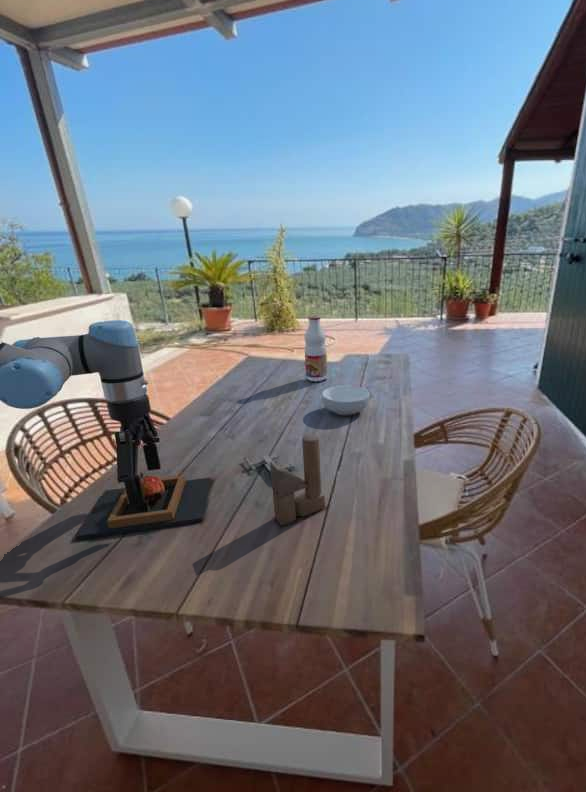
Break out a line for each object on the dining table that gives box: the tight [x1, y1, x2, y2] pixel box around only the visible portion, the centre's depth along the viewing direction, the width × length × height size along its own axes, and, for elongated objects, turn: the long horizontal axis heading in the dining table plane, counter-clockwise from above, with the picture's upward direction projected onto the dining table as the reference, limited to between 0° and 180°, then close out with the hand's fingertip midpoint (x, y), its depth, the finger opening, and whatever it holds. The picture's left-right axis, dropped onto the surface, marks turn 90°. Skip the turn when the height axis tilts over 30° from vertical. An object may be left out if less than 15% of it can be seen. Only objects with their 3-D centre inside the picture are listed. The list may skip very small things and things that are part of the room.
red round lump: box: [126, 472, 164, 512], centre depth 87 cm, size 7×7×10 cm
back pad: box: [75, 475, 212, 541], centre depth 88 cm, size 24×16×3 cm, turn 103°
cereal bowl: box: [321, 385, 370, 416], centre depth 139 cm, size 17×17×7 cm
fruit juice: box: [303, 315, 328, 378], centre depth 168 cm, size 9×9×28 cm
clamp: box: [243, 455, 295, 474], centre depth 103 cm, size 15×2×10 cm
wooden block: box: [270, 433, 326, 526], centre depth 84 cm, size 4×11×18 cm, turn 125°
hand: (146, 485), depth 87 cm, fingers open, 13 cm apart
